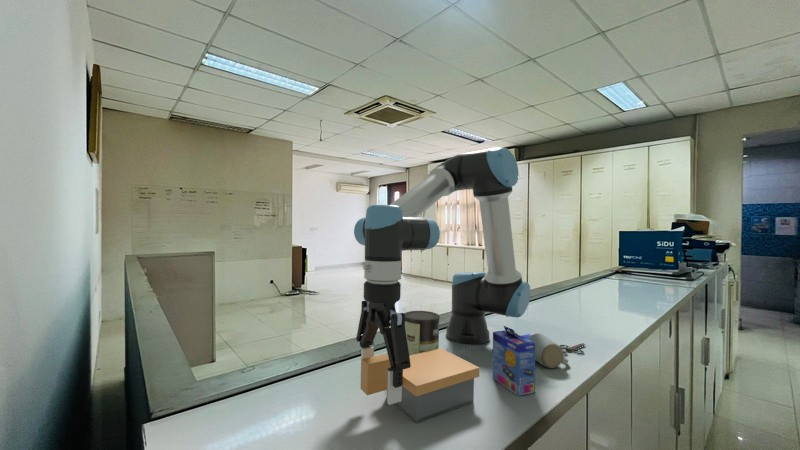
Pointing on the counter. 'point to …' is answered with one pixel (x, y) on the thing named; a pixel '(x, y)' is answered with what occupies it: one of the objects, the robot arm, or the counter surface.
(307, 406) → the counter surface
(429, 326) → the coffee can
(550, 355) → the ceramic mug
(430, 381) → the lid
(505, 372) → the ink cartridge box
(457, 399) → the parts tub
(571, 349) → the keychain
